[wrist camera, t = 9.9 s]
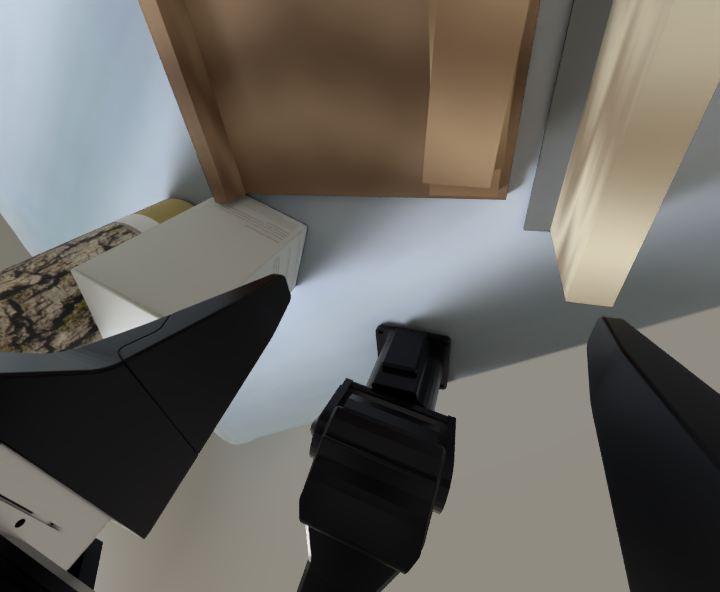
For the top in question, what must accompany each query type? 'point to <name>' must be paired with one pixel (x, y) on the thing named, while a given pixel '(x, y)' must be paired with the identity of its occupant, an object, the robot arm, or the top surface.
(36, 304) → the log
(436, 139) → the offcut stack
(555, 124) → the mat
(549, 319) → the top surface
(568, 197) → the birch panel
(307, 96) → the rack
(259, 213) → the supplement box
